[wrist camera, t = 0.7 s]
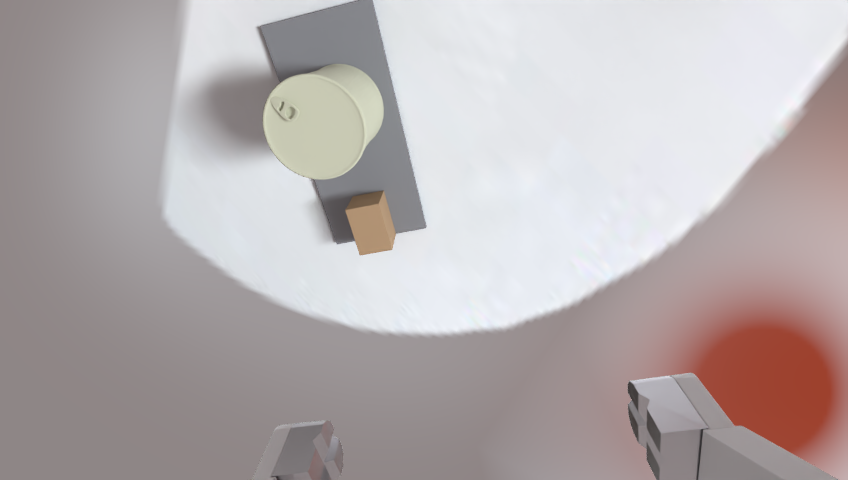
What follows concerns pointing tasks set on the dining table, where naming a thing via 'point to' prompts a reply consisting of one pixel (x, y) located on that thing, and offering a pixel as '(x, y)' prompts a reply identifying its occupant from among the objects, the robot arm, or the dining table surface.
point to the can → (323, 120)
